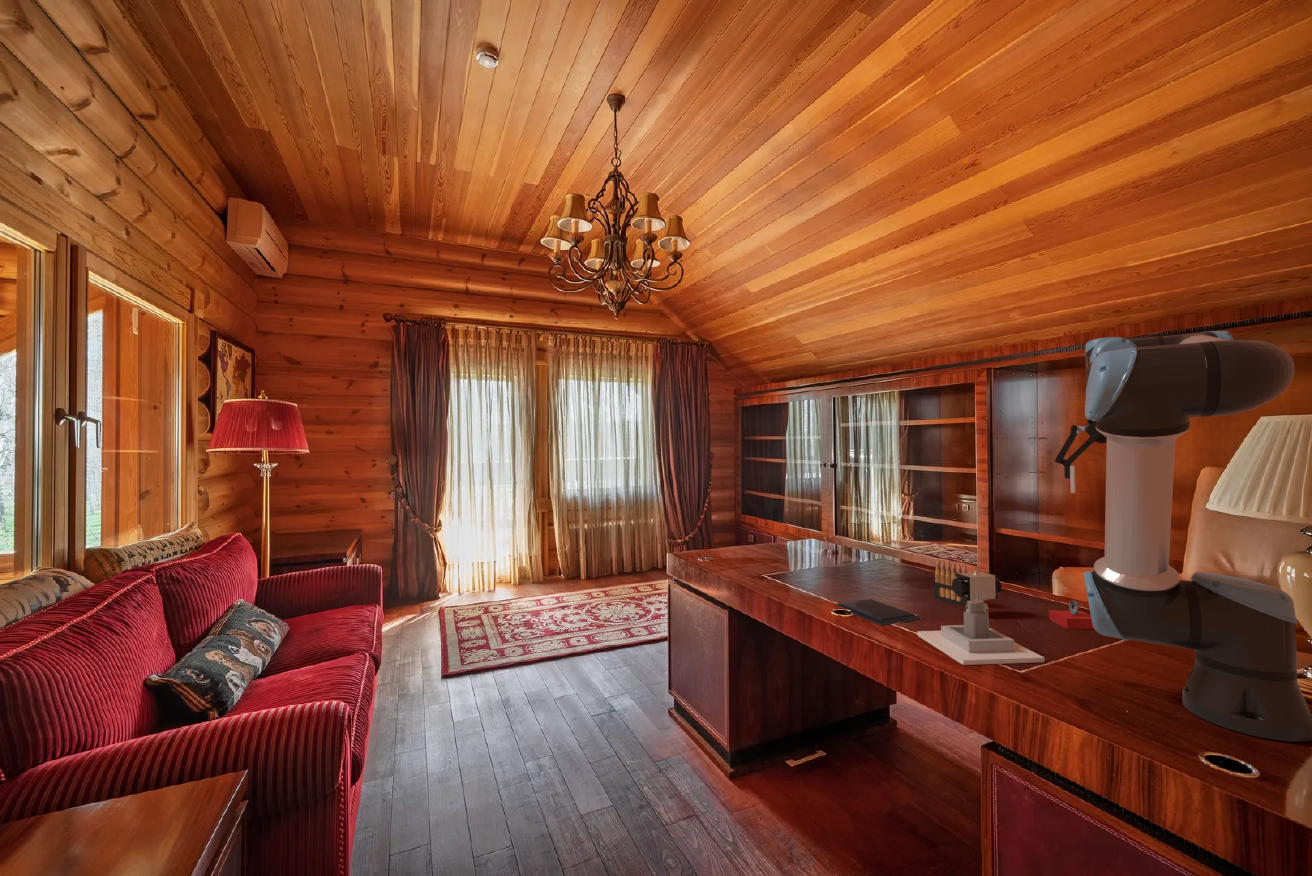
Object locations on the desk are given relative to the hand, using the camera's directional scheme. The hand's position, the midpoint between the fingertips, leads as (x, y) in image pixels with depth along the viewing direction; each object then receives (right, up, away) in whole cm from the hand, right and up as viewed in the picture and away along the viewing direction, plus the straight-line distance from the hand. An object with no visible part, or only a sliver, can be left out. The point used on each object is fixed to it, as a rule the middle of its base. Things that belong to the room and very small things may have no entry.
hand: (1109, 493), depth 126 cm
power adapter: (-33, -34, -3) cm, 48 cm away
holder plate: (-34, -35, -3) cm, 49 cm away
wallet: (-45, -37, +24) cm, 63 cm away
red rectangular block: (+1, -35, +12) cm, 37 cm away
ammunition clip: (-19, -36, +32) cm, 52 cm away
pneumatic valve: (-19, -36, +21) cm, 46 cm away
